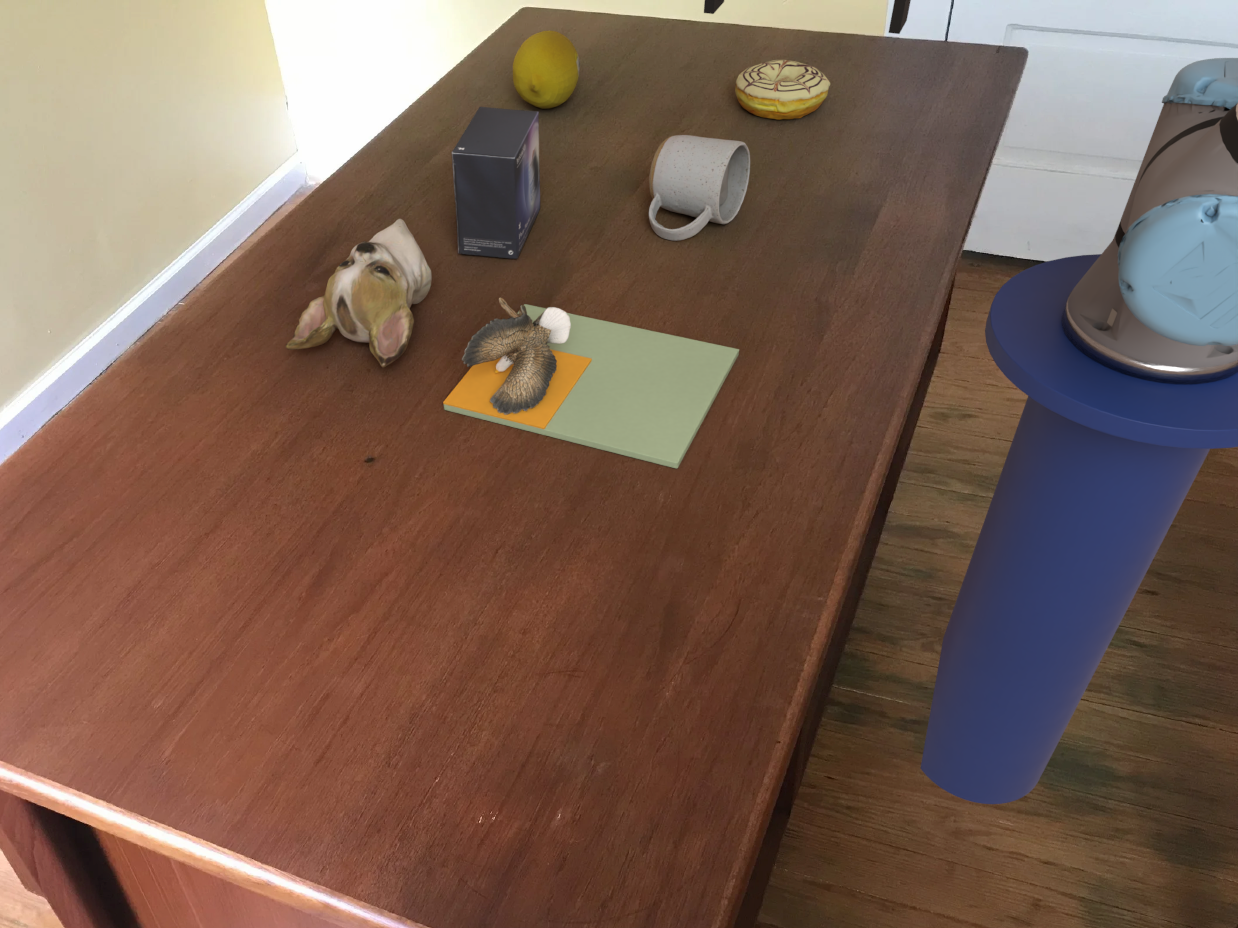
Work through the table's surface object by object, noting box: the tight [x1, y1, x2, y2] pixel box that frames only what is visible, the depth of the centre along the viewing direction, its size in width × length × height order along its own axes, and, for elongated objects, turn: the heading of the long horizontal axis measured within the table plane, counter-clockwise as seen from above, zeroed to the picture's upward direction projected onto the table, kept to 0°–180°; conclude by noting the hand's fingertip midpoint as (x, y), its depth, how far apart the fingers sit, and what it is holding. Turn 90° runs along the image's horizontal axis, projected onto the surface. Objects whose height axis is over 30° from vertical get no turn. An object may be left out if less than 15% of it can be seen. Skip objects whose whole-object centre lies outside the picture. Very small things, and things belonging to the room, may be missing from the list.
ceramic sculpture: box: [285, 218, 433, 368], centre depth 96 cm, size 11×9×15 cm
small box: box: [451, 106, 541, 260], centre depth 107 cm, size 11×6×10 cm, turn 167°
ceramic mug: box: [648, 134, 751, 242], centre depth 108 cm, size 11×8×8 cm
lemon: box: [512, 30, 581, 110], centre depth 129 cm, size 11×8×8 cm
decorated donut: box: [734, 59, 831, 121], centre depth 127 cm, size 10×11×4 cm
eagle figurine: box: [461, 297, 571, 415], centre depth 89 cm, size 8×7×9 cm
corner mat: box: [442, 303, 740, 470], centre depth 91 cm, size 20×16×1 cm
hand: (803, 17), depth 81 cm, fingers open, 13 cm apart
